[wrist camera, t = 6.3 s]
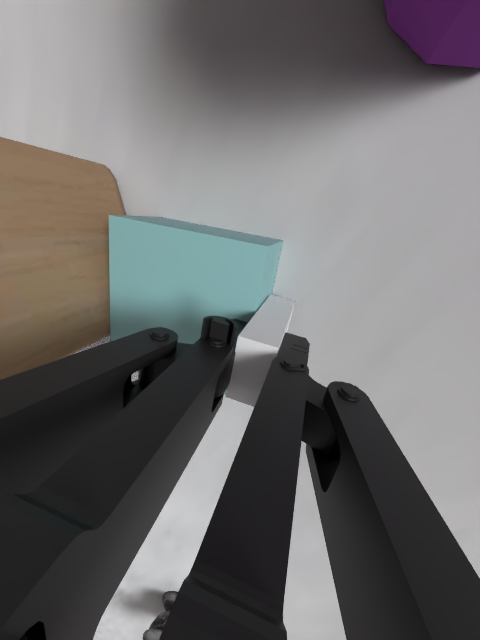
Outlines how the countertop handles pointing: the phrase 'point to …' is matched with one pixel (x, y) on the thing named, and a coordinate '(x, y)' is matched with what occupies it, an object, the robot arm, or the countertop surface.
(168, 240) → the teal block
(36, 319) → the wooden block
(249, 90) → the countertop surface
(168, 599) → the grey chess piece
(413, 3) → the mug
